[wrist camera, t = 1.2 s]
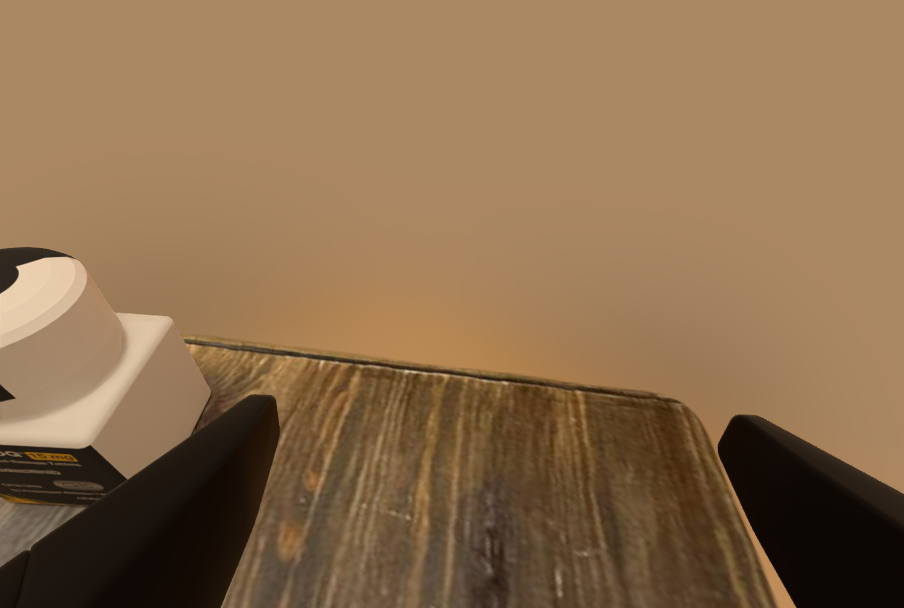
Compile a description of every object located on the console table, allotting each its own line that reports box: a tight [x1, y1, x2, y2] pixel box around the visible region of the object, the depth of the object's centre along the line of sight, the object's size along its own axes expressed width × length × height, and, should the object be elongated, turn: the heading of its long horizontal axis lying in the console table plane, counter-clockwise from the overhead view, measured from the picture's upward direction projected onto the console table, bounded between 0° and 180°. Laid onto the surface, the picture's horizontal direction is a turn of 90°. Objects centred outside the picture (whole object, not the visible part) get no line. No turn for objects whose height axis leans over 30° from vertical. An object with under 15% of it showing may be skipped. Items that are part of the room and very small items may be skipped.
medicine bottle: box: [0, 247, 211, 506], centre depth 19 cm, size 7×7×12 cm
